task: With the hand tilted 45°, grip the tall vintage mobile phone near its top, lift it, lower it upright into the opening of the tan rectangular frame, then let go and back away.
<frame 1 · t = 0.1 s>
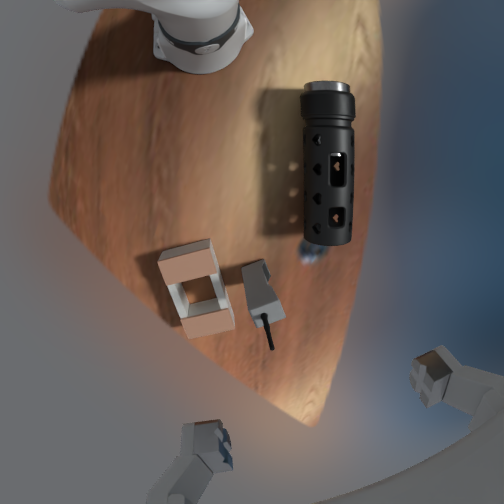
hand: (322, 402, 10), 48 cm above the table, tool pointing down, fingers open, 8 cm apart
muzzle brake: (318, 159, 54), on the table
tan rectangular frame: (199, 284, 61), on the table
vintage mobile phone: (255, 269, 61), on the table
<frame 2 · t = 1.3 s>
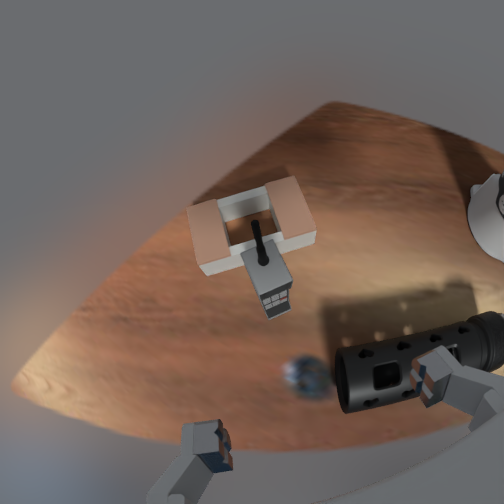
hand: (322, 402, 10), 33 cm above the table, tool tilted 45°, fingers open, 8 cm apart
muzzle brake: (418, 361, 39), on the table
tan rectangular frame: (252, 232, 50), on the table
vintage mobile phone: (273, 301, 45), on the table
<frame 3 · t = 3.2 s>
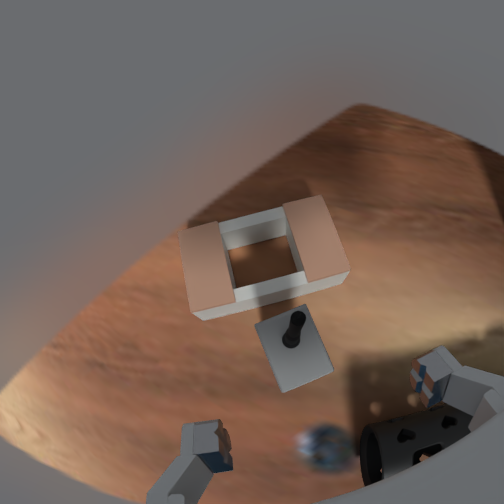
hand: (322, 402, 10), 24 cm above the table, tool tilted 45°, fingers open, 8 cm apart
muzzle brake: (451, 423, 27), on the table
tan rectangular frame: (263, 266, 38), on the table
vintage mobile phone: (288, 357, 34), on the table
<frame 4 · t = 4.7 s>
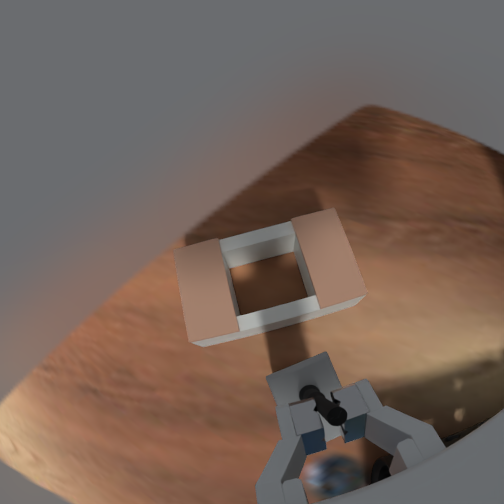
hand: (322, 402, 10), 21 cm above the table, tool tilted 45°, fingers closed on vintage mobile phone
muzzle brake: (464, 446, 24), on the table
tan rectangular frame: (269, 287, 34), on the table
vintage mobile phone: (296, 387, 30), on the table, touching gripper
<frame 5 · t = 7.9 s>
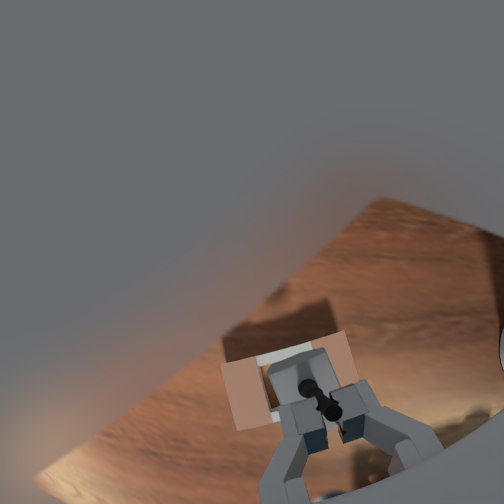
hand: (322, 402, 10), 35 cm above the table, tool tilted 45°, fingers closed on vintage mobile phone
tan rectangular frame: (290, 381, 42), on the table
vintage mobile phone: (294, 377, 31), point 13 cm above the table, touching gripper
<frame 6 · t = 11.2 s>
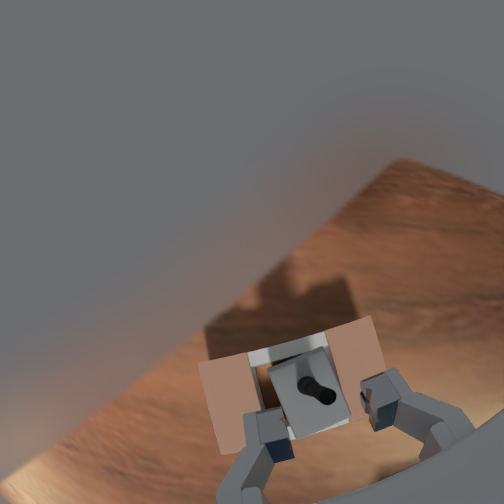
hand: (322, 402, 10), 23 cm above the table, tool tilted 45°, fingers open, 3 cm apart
tan rectangular frame: (296, 386, 31), on the table
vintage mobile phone: (296, 382, 31), resting in tan rectangular frame
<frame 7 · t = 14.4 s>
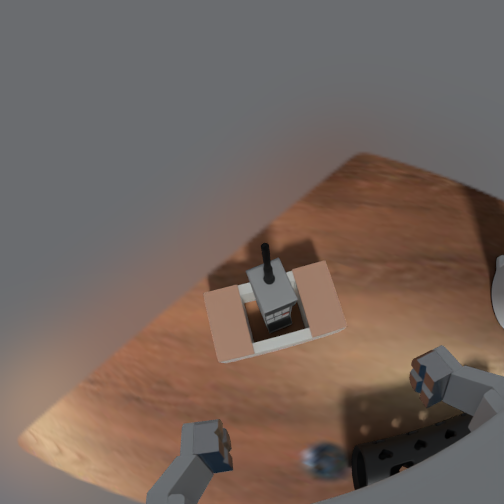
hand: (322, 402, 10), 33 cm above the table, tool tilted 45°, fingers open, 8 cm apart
muzzle brake: (428, 441, 34), on the table
tan rectangular frame: (274, 317, 45), on the table
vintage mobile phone: (274, 315, 45), resting in tan rectangular frame
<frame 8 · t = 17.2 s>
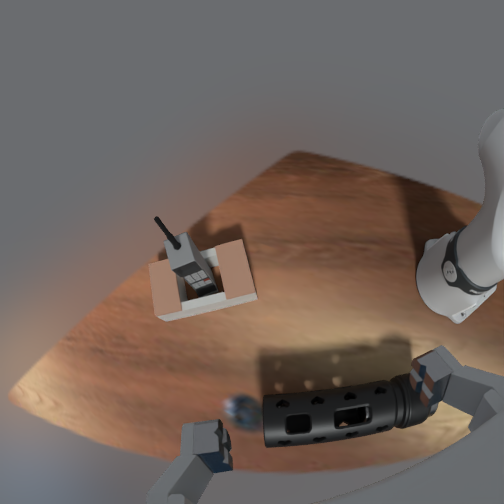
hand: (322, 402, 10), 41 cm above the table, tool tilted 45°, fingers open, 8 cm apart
muzzle brake: (345, 407, 45), on the table
tan rectangular frame: (205, 286, 56), on the table
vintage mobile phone: (206, 284, 57), resting in tan rectangular frame
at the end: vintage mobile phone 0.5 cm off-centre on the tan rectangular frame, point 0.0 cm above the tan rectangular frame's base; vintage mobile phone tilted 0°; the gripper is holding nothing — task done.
